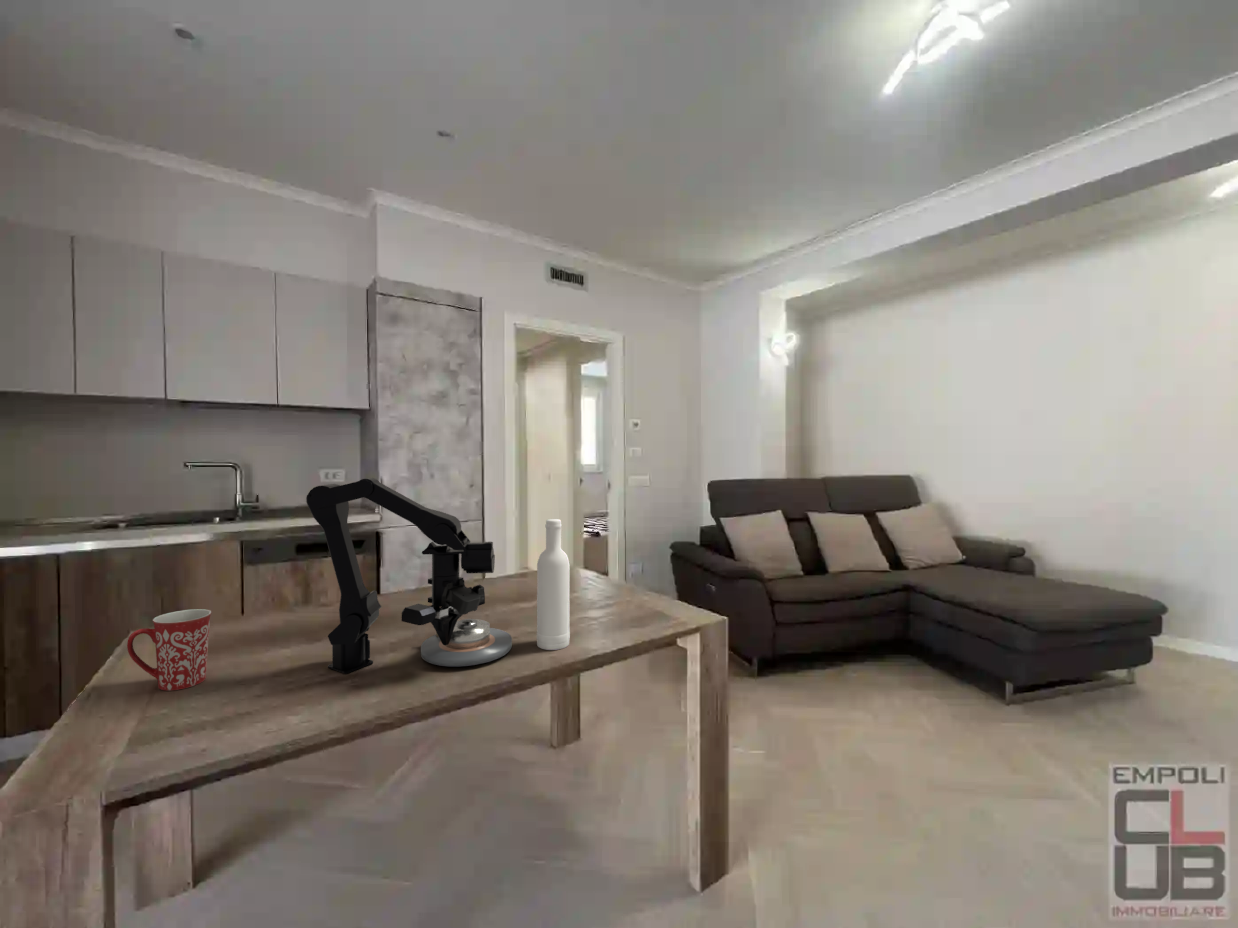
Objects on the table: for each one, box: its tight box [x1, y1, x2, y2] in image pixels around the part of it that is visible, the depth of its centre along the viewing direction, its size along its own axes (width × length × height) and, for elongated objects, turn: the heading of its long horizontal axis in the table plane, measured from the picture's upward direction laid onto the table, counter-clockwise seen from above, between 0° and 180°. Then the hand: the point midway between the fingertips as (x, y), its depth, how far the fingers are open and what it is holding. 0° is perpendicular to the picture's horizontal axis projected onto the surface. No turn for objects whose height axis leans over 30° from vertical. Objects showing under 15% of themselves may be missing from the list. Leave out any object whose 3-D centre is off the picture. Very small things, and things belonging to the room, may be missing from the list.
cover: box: [446, 618, 491, 650], centre depth 120 cm, size 10×10×5 cm
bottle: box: [536, 518, 571, 651], centre depth 125 cm, size 8×8×30 cm
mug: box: [126, 608, 212, 692], centre depth 103 cm, size 13×9×14 cm
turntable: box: [420, 627, 513, 667], centre depth 120 cm, size 20×20×5 cm
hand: (445, 644), depth 114 cm, fingers closed
